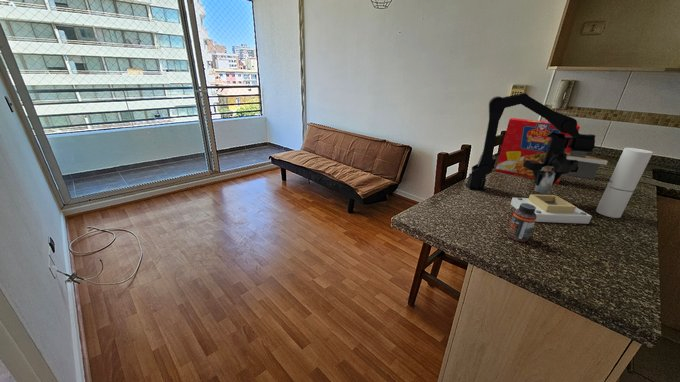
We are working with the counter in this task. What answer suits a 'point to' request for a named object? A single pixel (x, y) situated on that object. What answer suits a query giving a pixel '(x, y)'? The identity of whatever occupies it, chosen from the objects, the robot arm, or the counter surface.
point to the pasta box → (525, 146)
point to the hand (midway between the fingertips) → (543, 185)
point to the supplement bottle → (522, 222)
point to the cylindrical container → (623, 181)
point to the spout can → (546, 182)
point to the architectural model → (585, 164)
